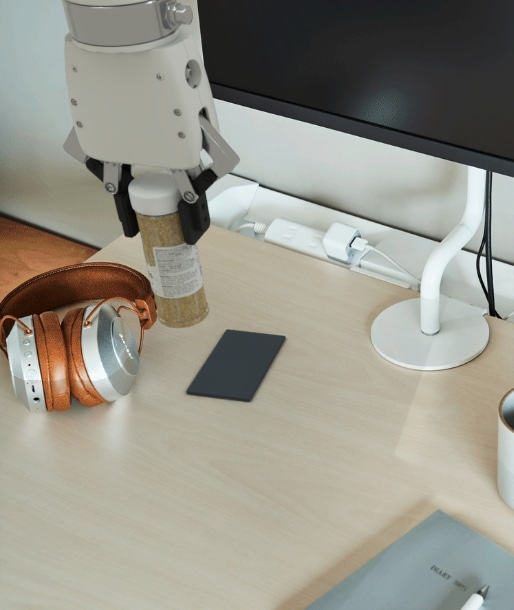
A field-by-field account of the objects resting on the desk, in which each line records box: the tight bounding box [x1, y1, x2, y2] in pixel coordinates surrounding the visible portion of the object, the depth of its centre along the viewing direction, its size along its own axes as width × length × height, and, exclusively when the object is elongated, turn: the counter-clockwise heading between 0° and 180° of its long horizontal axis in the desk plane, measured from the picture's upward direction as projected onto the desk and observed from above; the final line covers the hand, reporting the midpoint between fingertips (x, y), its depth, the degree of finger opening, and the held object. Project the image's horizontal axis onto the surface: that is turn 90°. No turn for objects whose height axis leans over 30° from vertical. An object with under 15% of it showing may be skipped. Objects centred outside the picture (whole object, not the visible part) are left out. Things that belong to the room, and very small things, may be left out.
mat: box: [185, 328, 286, 403], centre depth 100 cm, size 7×11×1 cm, turn 170°
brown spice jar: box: [128, 170, 210, 329], centre depth 78 cm, size 5×5×14 cm
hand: (167, 231), depth 77 cm, fingers closed on brown spice jar, 4 cm apart
